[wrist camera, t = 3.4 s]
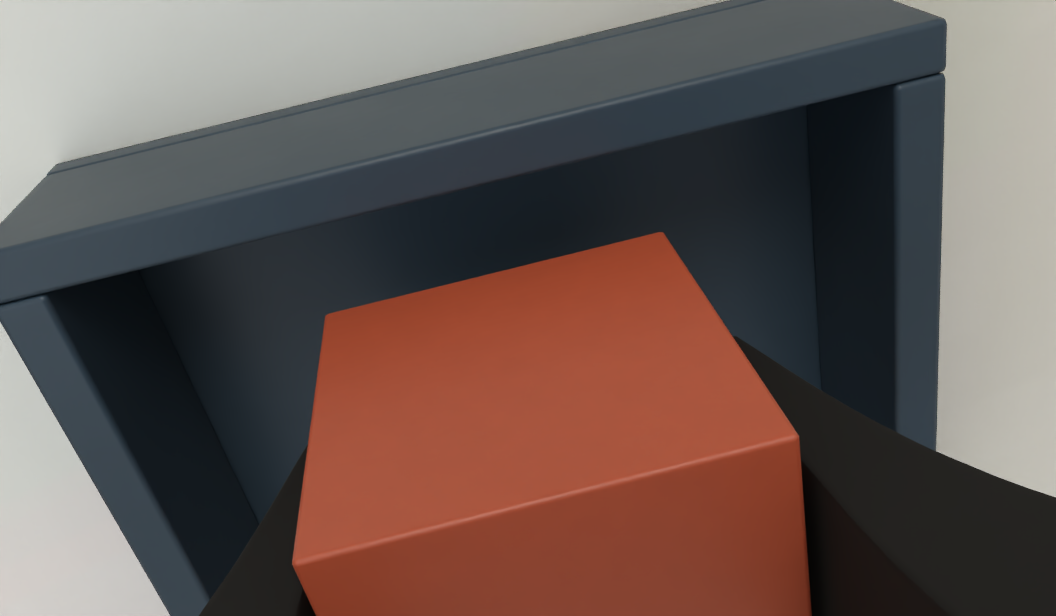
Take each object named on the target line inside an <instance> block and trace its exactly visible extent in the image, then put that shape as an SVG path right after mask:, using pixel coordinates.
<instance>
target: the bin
mask: <svg viewBox="0 0 1056 616" xmlns="http://www.w3.org/2000/svg"><path fill="white" fill-rule="evenodd" d="M946 32H947V24H946V21H945V19H944V18H941V17H938V16H935V15H932V14H930V13H927V12H924V11H921V10H918V9H915V8H913V7H910V6H907V5H904V4H901V3H899V2H896V1H893V0H729V1H725V2H721V3H717V4H713V5H709V6H705V7H701V8H696V9H692V10H688V11H684V12H680V13H676V14H672V15H668V16H664V17H659V18H655V19H651V20H647V21H643V22H639V23H635V24H631V25H627V26H623V27H618V28H614V29H610V30H606V31H602V32H598V33H594V34H590V35H586V36H581V37H577V38H573V39H569V40H565V41H561V42H557V43H553V44H549V45H544V46H540V47H536V48H532V49H528V50H524V51H520V52H516V53H512V54H507V55H503V56H499V57H495V58H491V59H487V60H483V61H479V62H475V63H470V64H466V65H462V66H458V67H454V68H450V69H446V70H442V71H438V72H433V73H429V74H425V75H421V76H417V77H413V78H409V79H405V80H401V81H397V82H392V83H388V84H384V85H380V86H376V87H372V88H368V89H364V90H360V91H355V92H351V93H347V94H343V95H339V96H335V97H331V98H327V99H323V100H318V101H314V102H310V103H306V104H302V105H298V106H294V107H290V108H286V109H281V110H277V111H273V112H269V113H265V114H261V115H257V116H253V117H249V118H244V119H240V120H236V121H232V122H228V123H224V124H220V125H216V126H212V127H208V128H203V129H199V130H195V131H191V132H187V133H183V134H179V135H175V136H171V137H166V138H162V139H158V140H154V141H150V142H146V143H142V144H138V145H134V146H129V147H125V148H121V149H117V150H113V151H109V152H105V153H101V154H97V155H92V156H88V157H84V158H80V159H76V160H72V161H68V162H64V163H60V164H57V165H55V166H54V167H53V168H52V169H51V170H50V171H49V172H48V174H47V176H46V177H45V178H44V179H43V180H42V181H41V182H40V183H39V184H38V185H37V186H36V187H35V188H34V189H33V190H32V191H31V192H30V193H29V194H28V195H27V196H26V197H25V198H24V200H23V201H22V202H21V203H20V204H19V205H18V206H17V207H16V208H15V209H14V210H13V211H12V212H11V213H10V214H9V215H8V216H7V217H6V218H5V219H4V220H3V221H2V222H1V223H0V322H1V323H2V325H3V327H4V329H5V330H6V332H7V334H8V336H9V337H10V339H11V341H12V342H13V344H14V346H15V348H16V349H17V351H18V353H19V355H20V356H21V358H22V360H23V361H24V363H25V365H26V367H27V368H28V370H29V372H30V374H31V375H32V377H33V379H34V380H35V382H36V384H37V386H38V387H39V389H40V391H41V393H42V394H43V396H44V398H45V400H46V401H47V403H48V405H49V406H50V408H51V410H52V412H53V413H54V415H55V417H56V419H57V420H58V422H59V424H60V425H61V427H62V429H63V431H64V432H65V434H66V436H67V438H68V439H69V441H70V443H71V444H72V446H73V448H74V450H75V451H76V453H77V455H78V457H79V458H80V460H81V462H82V463H83V465H84V467H85V469H86V470H87V472H88V474H89V476H90V477H91V479H92V481H93V482H94V484H95V486H96V488H97V489H98V491H99V493H100V495H101V496H102V498H103V500H104V502H105V503H106V505H107V507H108V508H109V510H110V512H111V514H112V515H113V517H114V519H115V521H116V522H117V524H118V526H119V527H120V529H121V531H122V533H123V534H124V536H125V538H126V540H127V541H128V543H129V545H130V546H131V548H132V550H133V552H134V553H135V555H136V557H137V559H138V560H139V562H140V564H141V565H142V567H143V569H144V571H145V572H146V574H147V576H148V578H149V579H150V581H151V583H152V584H153V586H154V588H155V590H156V591H157V593H158V595H159V597H160V598H161V600H162V602H163V604H164V605H165V607H166V609H167V610H168V612H169V614H170V616H199V615H200V613H201V612H202V610H203V609H204V607H205V606H206V605H207V603H208V602H209V600H210V599H211V597H212V596H213V595H214V593H215V592H216V590H217V589H218V587H219V586H220V585H221V583H222V582H223V580H224V579H225V577H226V576H227V575H228V573H229V572H230V570H231V569H232V567H233V566H234V564H235V563H236V561H237V560H238V558H239V556H240V555H241V553H242V552H243V550H244V549H245V547H246V545H247V544H248V542H249V541H250V539H251V537H252V536H253V534H254V533H255V531H256V529H257V528H258V526H259V525H260V523H261V521H262V520H263V518H264V517H265V515H266V513H267V512H268V510H269V508H270V506H271V505H272V503H273V501H274V500H275V498H276V496H277V495H278V493H279V491H280V490H281V488H282V486H283V484H284V483H285V481H286V479H287V478H288V476H289V474H290V473H291V471H292V469H293V467H294V466H295V464H296V462H297V461H298V459H299V458H300V456H301V454H302V453H303V451H304V450H305V448H306V446H307V445H308V440H309V433H310V425H311V418H312V410H313V403H314V395H315V388H316V381H317V373H318V366H319V358H320V351H321V343H322V336H323V329H324V321H325V316H326V315H327V314H329V313H333V312H337V311H341V310H346V309H350V308H354V307H358V306H362V305H366V304H370V303H374V302H378V301H382V300H386V299H390V298H394V297H398V296H402V295H406V294H410V293H414V292H418V291H422V290H426V289H431V288H435V287H439V286H443V285H447V284H451V283H455V282H459V281H463V280H467V279H471V278H475V277H479V276H483V275H487V274H491V273H495V272H499V271H503V270H507V269H511V268H516V267H520V266H524V265H528V264H532V263H536V262H540V261H544V260H548V259H552V258H556V257H560V256H564V255H568V254H572V253H576V252H580V251H584V250H588V249H592V248H596V247H601V246H605V245H609V244H613V243H617V242H621V241H625V240H629V239H633V238H637V237H641V236H645V235H649V234H653V233H657V232H663V233H664V234H665V236H666V237H667V239H668V240H669V242H670V243H671V245H672V246H673V248H674V249H675V251H676V252H677V254H678V255H679V257H680V258H681V260H682V261H683V263H684V264H685V266H686V267H687V269H688V270H689V272H690V273H691V275H692V276H693V278H694V279H695V281H696V282H697V284H698V285H699V287H700V288H701V290H702V291H703V293H704V294H705V296H706V297H707V299H708V300H709V302H710V303H711V305H712V306H713V308H714V309H715V311H716V312H717V314H718V315H719V317H720V318H721V320H722V321H723V323H724V324H725V326H726V327H727V329H728V330H729V332H730V333H731V335H732V336H737V337H738V338H740V339H742V340H743V341H745V342H746V343H748V344H749V345H751V346H752V347H754V348H756V349H757V350H759V351H760V352H762V353H763V354H765V355H766V356H768V357H769V358H771V359H772V360H774V361H776V362H777V363H779V364H780V365H782V366H783V367H785V368H786V369H788V370H789V371H791V372H793V373H794V374H796V375H797V376H799V377H800V378H802V379H804V380H805V381H807V382H808V383H810V384H812V385H813V386H815V387H816V388H818V389H820V390H821V391H823V392H825V393H826V394H828V395H830V396H831V397H833V398H835V399H836V400H838V401H840V402H842V403H843V404H845V405H847V406H848V407H850V408H852V409H854V410H855V411H857V412H859V413H861V414H863V415H865V416H866V417H868V418H870V419H872V420H874V421H876V422H878V423H879V424H881V425H883V426H885V427H887V428H889V429H891V430H893V431H895V432H897V433H899V434H901V435H903V436H905V437H907V438H909V439H911V440H913V441H915V442H917V443H919V444H921V445H923V446H925V447H928V448H930V449H932V450H934V451H936V431H937V391H938V351H939V311H940V271H941V231H942V191H943V151H944V112H945V77H944V75H943V73H940V72H942V71H943V70H944V69H945V67H946Z"/></svg>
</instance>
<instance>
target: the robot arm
mask: <svg viewBox="0 0 1056 616" xmlns="http://www.w3.org/2000/svg"><path fill="white" fill-rule="evenodd" d="M733 338H734V339H735V341H736V342H737V344H738V345H739V347H740V348H741V350H742V351H743V353H744V354H745V356H746V357H747V359H748V360H749V362H750V363H751V365H752V366H753V368H754V369H755V371H756V372H757V374H758V375H759V377H760V378H761V380H762V381H763V383H764V384H765V386H766V387H767V389H768V390H769V392H770V393H771V395H772V396H773V398H774V399H775V401H776V402H777V404H778V405H779V407H780V408H781V410H782V411H783V413H784V414H785V416H786V417H787V419H788V420H789V422H790V423H791V425H792V426H793V428H794V429H795V431H796V432H797V434H798V435H799V441H800V455H801V469H802V483H803V497H804V511H805V525H806V539H807V553H808V567H809V581H810V595H811V609H812V616H1056V498H1055V497H1052V496H1049V495H1046V494H1043V493H1040V492H1037V491H1034V490H1031V489H1028V488H1025V487H1023V486H1020V485H1017V484H1015V483H1012V482H1009V481H1007V480H1004V479H1001V478H998V477H996V476H993V475H991V474H989V473H986V472H984V471H981V470H979V469H977V468H974V467H972V466H969V465H967V464H964V463H962V462H960V461H957V460H955V459H952V458H950V457H948V456H945V455H943V454H941V453H939V452H936V451H934V450H932V449H930V448H928V447H925V446H923V445H921V444H919V443H917V442H915V441H913V440H911V439H909V438H907V437H905V436H903V435H901V434H899V433H897V432H895V431H893V430H891V429H889V428H887V427H885V426H883V425H881V424H879V423H878V422H876V421H874V420H872V419H870V418H868V417H866V416H865V415H863V414H861V413H859V412H857V411H855V410H854V409H852V408H850V407H848V406H847V405H845V404H843V403H842V402H840V401H838V400H836V399H835V398H833V397H831V396H830V395H828V394H826V393H825V392H823V391H821V390H820V389H818V388H816V387H815V386H813V385H812V384H810V383H808V382H807V381H805V380H804V379H802V378H800V377H799V376H797V375H796V374H794V373H793V372H791V371H789V370H788V369H786V368H785V367H783V366H782V365H780V364H779V363H777V362H776V361H774V360H772V359H771V358H769V357H768V356H766V355H765V354H763V353H762V352H760V351H759V350H757V349H756V348H754V347H752V346H751V345H749V344H748V343H746V342H745V341H743V340H742V339H740V338H738V337H737V336H733ZM307 448H308V445H307V446H306V448H305V450H304V451H303V453H302V454H301V456H300V458H299V459H298V461H297V462H296V464H295V466H294V467H293V469H292V471H291V473H290V474H289V476H288V478H287V479H286V481H285V483H284V484H283V486H282V488H281V490H280V491H279V493H278V495H277V496H276V498H275V500H274V501H273V503H272V505H271V506H270V508H269V510H268V512H267V513H266V515H265V517H264V518H263V520H262V521H261V523H260V525H259V526H258V528H257V529H256V531H255V533H254V534H253V536H252V537H251V539H250V541H249V542H248V544H247V545H246V547H245V549H244V550H243V552H242V553H241V555H240V556H239V558H238V560H237V561H236V563H235V564H234V566H233V567H232V569H231V570H230V572H229V573H228V575H227V576H226V577H225V579H224V580H223V582H222V583H221V585H220V586H219V587H218V589H217V590H216V592H215V593H214V595H213V596H212V597H211V599H210V600H209V602H208V603H207V605H206V606H205V607H204V609H203V610H202V612H201V613H200V615H199V616H316V615H315V613H314V611H313V608H312V606H311V604H310V602H309V600H308V598H307V595H306V593H305V591H304V589H303V587H302V585H301V582H300V580H299V578H298V576H297V574H296V572H295V569H294V567H293V565H292V559H293V552H294V544H295V537H296V529H297V522H298V515H299V507H300V500H301V492H302V485H303V477H304V470H305V462H306V455H307Z"/></svg>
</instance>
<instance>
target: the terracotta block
mask: <svg viewBox="0 0 1056 616" xmlns="http://www.w3.org/2000/svg"><path fill="white" fill-rule="evenodd" d="M292 565H293V567H294V569H295V572H296V574H297V576H298V578H299V580H300V582H301V585H302V587H303V589H304V591H305V593H306V595H307V598H308V600H309V602H310V604H311V606H312V608H313V611H314V613H315V615H316V616H812V609H811V595H810V581H809V567H808V553H807V539H806V525H805V511H804V497H803V483H802V469H801V455H800V441H799V435H798V434H797V432H796V431H795V429H794V428H793V426H792V425H791V423H790V422H789V420H788V419H787V417H786V416H785V414H784V413H783V411H782V410H781V408H780V407H779V405H778V404H777V402H776V401H775V399H774V398H773V396H772V395H771V393H770V392H769V390H768V389H767V387H766V386H765V384H764V383H763V381H762V380H761V378H760V377H759V375H758V374H757V372H756V371H755V369H754V368H753V366H752V365H751V363H750V362H749V360H748V359H747V357H746V356H745V354H744V353H743V351H742V350H741V348H740V347H739V345H738V344H737V342H736V341H735V339H734V338H733V336H732V335H731V333H730V332H729V330H728V329H727V327H726V326H725V324H724V323H723V321H722V320H721V318H720V317H719V315H718V314H717V312H716V311H715V309H714V308H713V306H712V305H711V303H710V302H709V300H708V299H707V297H706V296H705V294H704V293H703V291H702V290H701V288H700V287H699V285H698V284H697V282H696V281H695V279H694V278H693V276H692V275H691V273H690V272H689V270H688V269H687V267H686V266H685V264H684V263H683V261H682V260H681V258H680V257H679V255H678V254H677V252H676V251H675V249H674V248H673V246H672V245H671V243H670V242H669V240H668V239H667V237H666V236H665V234H664V233H663V232H657V233H653V234H649V235H645V236H641V237H637V238H633V239H629V240H625V241H621V242H617V243H613V244H609V245H605V246H601V247H596V248H592V249H588V250H584V251H580V252H576V253H572V254H568V255H564V256H560V257H556V258H552V259H548V260H544V261H540V262H536V263H532V264H528V265H524V266H520V267H516V268H511V269H507V270H503V271H499V272H495V273H491V274H487V275H483V276H479V277H475V278H471V279H467V280H463V281H459V282H455V283H451V284H447V285H443V286H439V287H435V288H431V289H426V290H422V291H418V292H414V293H410V294H406V295H402V296H398V297H394V298H390V299H386V300H382V301H378V302H374V303H370V304H366V305H362V306H358V307H354V308H350V309H346V310H341V311H337V312H333V313H329V314H327V315H326V316H325V321H324V329H323V336H322V343H321V351H320V358H319V366H318V373H317V381H316V388H315V395H314V403H313V410H312V418H311V425H310V433H309V440H308V448H307V455H306V462H305V470H304V477H303V485H302V492H301V500H300V507H299V515H298V522H297V529H296V537H295V544H294V552H293V559H292Z"/></svg>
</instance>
